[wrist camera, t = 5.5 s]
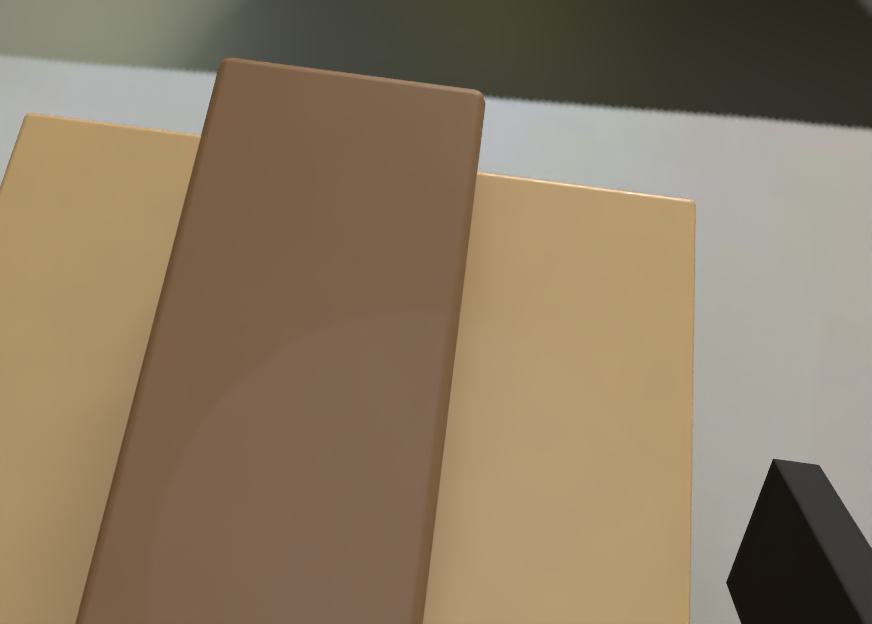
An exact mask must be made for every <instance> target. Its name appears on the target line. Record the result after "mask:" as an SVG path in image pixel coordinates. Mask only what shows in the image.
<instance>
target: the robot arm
mask: <svg viewBox="0 0 872 624" xmlns="http://www.w3.org/2000/svg"><path fill="white" fill-rule="evenodd" d="M726 583H727V586H728V589H729V592H730V594H731V597H732V600H733V602H734V605H735V608H736V611H737V613H738V616H739V619H740V621H741V624H872V548H871V547H870V545H869V544H868V542H867V540H866V539H865V537H864V536H863V534H862V532H861V531H860V529H859V528H858V526H857V524H856V523H855V521H854V520H853V518H852V517H851V515H850V513H849V512H848V510H847V509H846V507H845V505H844V504H843V502H842V501H841V499H840V497H839V496H838V494H837V493H836V491H835V490H834V488H833V486H832V485H831V483H830V482H829V480H828V478H827V477H826V475H825V474H824V472H823V470H822V469H821V467H820V466H819V465H815V464H807V463H800V462H793V461H785V460H778V459H773V461H772V463H771V466H770V468H769V471H768V474H767V476H766V479H765V482H764V484H763V487H762V490H761V492H760V495H759V497H758V500H757V503H756V505H755V508H754V511H753V513H752V516H751V519H750V521H749V524H748V527H747V529H746V532H745V534H744V537H743V540H742V542H741V545H740V548H739V550H738V553H737V556H736V558H735V561H734V563H733V566H732V569H731V571H730V574H729V577H728V579H727V582H726Z"/></svg>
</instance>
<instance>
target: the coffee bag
mask: <svg viewBox="0 0 872 624" xmlns="http://www.w3.org/2000/svg"><path fill="white" fill-rule="evenodd" d="M484 111H485V101H484V98H483V95H482V93H481V92H479V91H476V90H473V89H466V88H458V87H450V86H443V85H435V84H427V83H420V82H412V81H405V80H397V79H389V78H382V77H374V76H367V75H359V74H351V73H343V72H336V71H328V70H321V69H313V68H306V67H298V66H290V65H283V64H275V63H268V62H260V61H252V60H245V59H237V58H226V59H223V61H222V62H221V63H220V66H219V69H218V72H217V76H216V80H215V84H214V88H213V92H212V96H211V100H210V103H209V107H208V111H207V115H206V119H205V123H204V127H203V131H202V134H201V135H195V134H187V133H180V132H172V131H164V130H157V129H149V128H141V127H134V126H126V125H119V124H111V123H103V122H96V121H88V120H81V119H73V118H65V117H58V116H50V115H42V114H35V113H29V114H27V115H26V116H25V117H24V120H23V123H22V126H21V129H20V131H19V134H18V137H17V140H16V143H15V146H14V149H13V151H12V154H11V157H10V160H9V163H8V166H7V169H6V172H5V174H4V177H3V180H2V183H1V186H0V624H690V565H691V497H692V429H693V361H694V292H695V224H696V205H695V202H694V201H692V200H690V199H682V198H675V197H667V196H659V195H652V194H644V193H637V192H629V191H621V190H614V189H606V188H598V187H591V186H583V185H576V184H568V183H560V182H553V181H545V180H538V179H530V178H522V177H515V176H507V175H499V174H492V173H484V172H477V169H478V161H479V153H480V144H481V136H482V128H483V119H484Z"/></svg>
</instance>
